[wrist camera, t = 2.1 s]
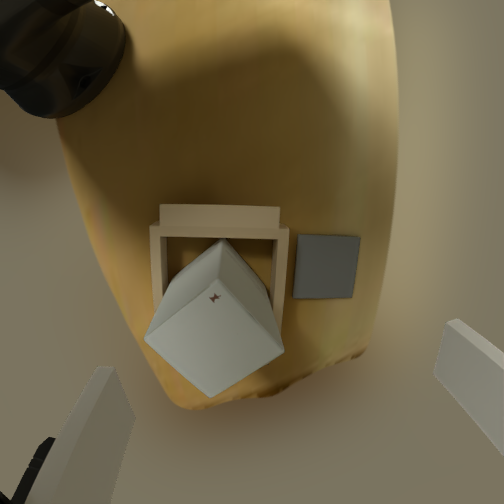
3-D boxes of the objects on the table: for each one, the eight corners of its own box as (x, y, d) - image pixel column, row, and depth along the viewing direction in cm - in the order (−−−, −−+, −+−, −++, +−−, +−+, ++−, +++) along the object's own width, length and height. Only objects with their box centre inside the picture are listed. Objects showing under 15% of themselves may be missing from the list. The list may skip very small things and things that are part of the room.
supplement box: (170, 277, 31) (138, 337, 19) (224, 234, 30) (219, 275, 18) (214, 325, 33) (208, 401, 21) (267, 287, 32) (288, 352, 20)
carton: (164, 347, 33) (160, 361, 30) (156, 201, 29) (149, 204, 26) (273, 349, 34) (277, 364, 31) (285, 204, 30) (290, 207, 27)
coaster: (292, 296, 32) (292, 298, 32) (297, 234, 31) (298, 234, 30) (350, 295, 33) (351, 297, 32) (358, 236, 31) (360, 237, 31)
